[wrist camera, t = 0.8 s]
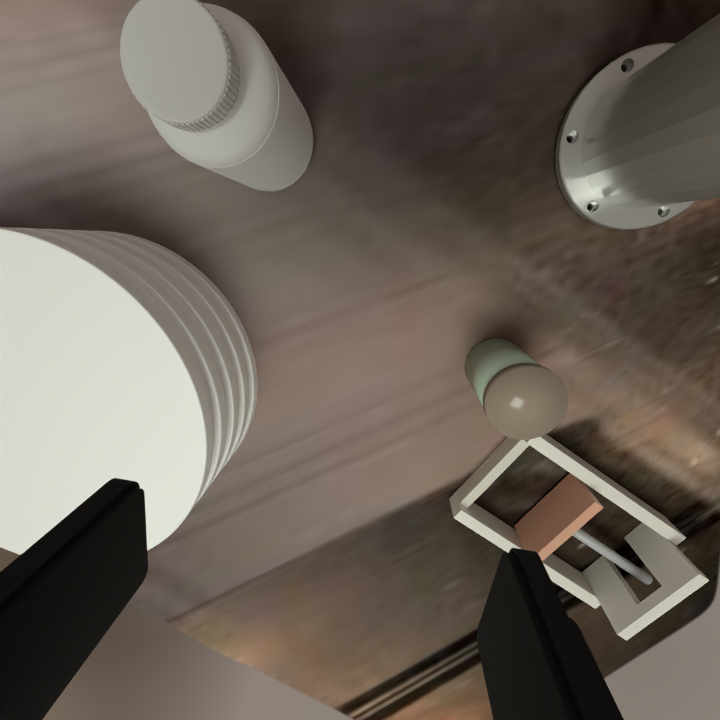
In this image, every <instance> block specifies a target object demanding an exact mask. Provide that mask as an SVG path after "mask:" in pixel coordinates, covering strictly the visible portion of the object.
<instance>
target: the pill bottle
mask: <svg viewBox="0 0 720 720" xmlns="http://www.w3.org/2000/svg"><path fill="white" fill-rule="evenodd" d="M120 58H121V64H122V68H123V72H124V75H125V78H126V80H127V83H128V85H129V87H130V89H131V91H132V92H133V95H134V96H135V97H136V98H137V100H138V102H140V103H141V105H142V106H143V107H144V108H145V109H146V110H147V112H148V114H149V116H150V118H151V120H152V122H153V124H154V126H155V127H156V129H157V131H158V132H159V133H160V135H161V136H162V137H163V139H164V140H165V141H166V142H167V143H168V144H169V146H170V147H171V148H173V149H174V150H175V151H176V152H177V153H178V154H180V155H181V156H183V157H184V158H186V159H187V160H189V161H191V162H193V163H195V164H197V165H199V166H202V167H204V168H206V169H209V170H211V171H213V172H216V173H218V174H220V175H223V176H225V177H227V178H230V179H232V180H234V181H237V182H239V183H241V184H244V185H246V186H248V187H251V188H253V189H256V190H260V191H278V190H282V189H285V188H287V187H289V186H291V185H292V184H294V183H295V182H296V181H297V180H298V179H299V178H300V177H301V176H302V175H303V174H304V172H305V171H306V169H307V167H308V165H309V162H310V160H311V156H312V151H313V132H312V127H311V123H310V120H309V117H308V114H307V112H306V110H305V108H304V107H303V105H302V103H301V102H300V100H299V98H298V97H297V95H296V93H295V92H294V90H293V88H292V87H291V85H290V83H289V82H288V80H287V78H286V77H285V75H284V73H283V72H282V70H281V68H280V67H279V65H278V63H277V62H276V60H275V58H274V57H273V55H272V53H271V52H270V50H269V48H268V47H267V45H266V44H265V42H264V41H263V39H262V38H261V36H260V35H259V34H258V33H257V31H256V30H255V29H254V28H253V27H252V26H251V25H250V24H249V23H248V22H247V21H245V20H244V19H243V18H241V17H240V16H238V15H237V14H235V13H233V12H231V11H229V10H227V9H225V8H223V7H220V6H217V5H213V4H207V3H201V2H199V1H198V0H140V1H138V2H137V3H136V4H135V5H134V7H133V8H132V9H131V11H130V12H129V14H128V16H127V17H126V20H125V22H124V25H123V28H122V32H121V38H120Z"/></svg>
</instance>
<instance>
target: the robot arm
mask: <svg viewBox="0 0 720 720" xmlns="http://www.w3.org/2000/svg"><path fill="white" fill-rule="evenodd" d="M621 68H623V71H622V70H621ZM567 137H569V138H570V143H568V142H567ZM555 169H556V174H557V179H558V184H559V186H560V189H561V191H562V193H563V196H564V198H565V199H566V200H567V202H568V203H569V205H570V206H571V207H572V209H573V210H574V211H576V212H577V213H578V214H579V215H580V216H581V217H582V218H584V219H586V220H587V221H589V222H591V223H593V224H595V225H598V226H601V227H605V228H608V229H620V230H627V229H639V228H644V227H649V226H653V225H656V224H659V223H662V222H664V221H667V220H669V219H671V218H672V217H674V216H676V215H677V214H679V213H681V212H682V211H684V210H685V209H687V208H688V207H689V206H690V205H692V204H693V203H694V202H695V201H697V200H704V199H711V198H719V197H720V13H719V14H718V15H716V16H715V17H714V18H712V19H711V20H709V21H708V22H706V23H705V24H704V25H702V26H701V27H699V28H698V29H696V30H695V31H694V32H692V33H691V34H689V35H688V36H686V37H685V38H684V39H682V40H681V41H679V42H678V43H659V44H653V45H647V46H644V47H641V48H638V49H636V50H633V51H630V52H628V53H626V54H624V55H623V56H621V57H619V58H618V59H616V60H614V61H613V62H611V63H610V64H608V65H607V66H606V67H605V68H603V69H602V70H601V71H600V72H598V73H597V74H596V75H595V76H594V77H593V78H592V79H591V80H590V81H589V82H588V83H587V84H586V85H585V86H584V87H583V88H582V90H581V91H580V92H579V94H578V95H577V96H576V98H575V99H574V101H573V102H572V104H571V106H570V108H569V109H568V111H567V113H566V115H565V117H564V119H563V122H562V125H561V128H560V131H559V134H558V138H557V144H556V150H555ZM588 204H589V205H590V209H589V210H587V205H588ZM658 210H659V213H658ZM147 570H148V556H147V535H146V514H145V494H144V490H143V489H141V488H140V486H139V484H138V482H135V481H130V480H124V479H119V478H113V479H111V480H109V481H108V482H107V483H105V484H104V485H103V486H102V487H101V488H100V489H98V490H97V491H96V492H95V493H94V494H92V495H91V496H90V497H89V498H88V499H87V500H85V501H84V502H83V503H82V504H81V505H79V506H78V507H77V508H76V509H75V510H73V511H72V512H71V513H70V514H69V515H68V516H66V517H65V518H64V519H63V520H62V521H60V522H59V523H58V524H57V525H56V526H54V527H53V528H52V529H51V530H50V531H49V532H47V533H46V534H45V535H44V536H43V537H41V538H40V539H39V540H38V541H37V542H36V543H34V544H33V545H32V546H31V547H30V548H28V549H27V550H26V551H25V552H24V553H22V554H21V555H20V556H19V557H18V558H17V559H16V560H14V561H13V562H12V563H11V564H9V566H7V567H6V568H5V569H4V570H3V571H1V572H0V720H42V719H43V718H44V716H45V715H46V714H47V712H48V711H49V710H50V708H51V707H52V706H53V704H54V703H55V701H56V700H57V699H58V697H59V696H60V695H61V693H62V692H63V690H64V689H65V688H66V686H67V685H68V684H69V682H70V681H71V680H72V678H73V677H74V675H75V674H76V673H77V671H78V670H79V669H80V667H81V666H82V665H83V663H84V662H85V660H86V659H87V658H88V656H89V655H90V654H91V652H92V651H93V650H94V648H95V647H96V645H97V644H98V643H99V641H100V640H101V639H102V637H103V636H104V635H105V633H106V631H107V630H108V629H109V628H110V626H111V625H112V624H113V622H114V621H115V619H116V618H117V617H118V615H119V614H120V613H121V611H122V610H123V608H124V607H125V606H126V604H127V603H128V602H129V600H130V599H131V598H132V596H133V595H134V594H135V592H136V591H137V589H138V588H139V587H140V585H141V584H142V582H143V581H144V579H145V577H146V574H147ZM477 643H478V648H479V653H480V658H481V663H482V667H483V672H484V677H485V681H486V686H487V691H488V695H489V700H490V705H491V710H492V714H493V719H494V720H624V719H623V718H622V715H621V713H620V711H619V709H618V707H617V705H616V703H615V701H614V699H613V697H612V695H611V693H610V690H609V688H608V686H607V684H606V682H605V680H604V678H603V676H602V674H601V672H600V670H599V668H598V666H597V664H596V662H595V660H594V657H593V655H592V653H591V651H590V649H589V647H588V645H587V643H586V641H585V639H584V637H583V635H582V633H581V631H580V629H579V627H578V626H577V624H576V623H575V622H574V621H573V620H572V619H571V618H569V617H568V615H567V613H566V611H565V609H564V607H563V605H562V602H561V600H560V598H559V596H558V594H557V592H556V590H555V588H554V585H553V583H552V581H551V579H550V577H549V575H548V573H547V571H546V568H545V566H544V564H543V562H542V560H541V558H540V556H539V554H538V553H537V552H535V551H530V550H524V549H518V548H511V549H510V551H509V553H503V554H502V556H501V559H500V562H499V565H498V568H497V572H496V575H495V578H494V581H493V584H492V587H491V590H490V593H489V596H488V599H487V602H486V605H485V608H484V611H483V614H482V617H481V620H480V623H479V626H478V630H477Z"/></svg>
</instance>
